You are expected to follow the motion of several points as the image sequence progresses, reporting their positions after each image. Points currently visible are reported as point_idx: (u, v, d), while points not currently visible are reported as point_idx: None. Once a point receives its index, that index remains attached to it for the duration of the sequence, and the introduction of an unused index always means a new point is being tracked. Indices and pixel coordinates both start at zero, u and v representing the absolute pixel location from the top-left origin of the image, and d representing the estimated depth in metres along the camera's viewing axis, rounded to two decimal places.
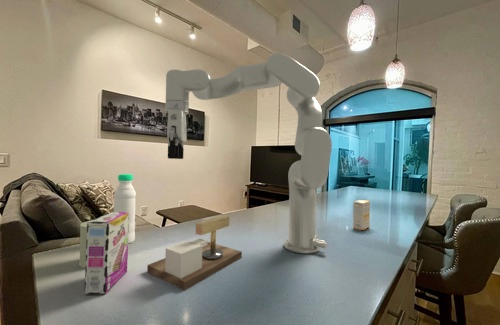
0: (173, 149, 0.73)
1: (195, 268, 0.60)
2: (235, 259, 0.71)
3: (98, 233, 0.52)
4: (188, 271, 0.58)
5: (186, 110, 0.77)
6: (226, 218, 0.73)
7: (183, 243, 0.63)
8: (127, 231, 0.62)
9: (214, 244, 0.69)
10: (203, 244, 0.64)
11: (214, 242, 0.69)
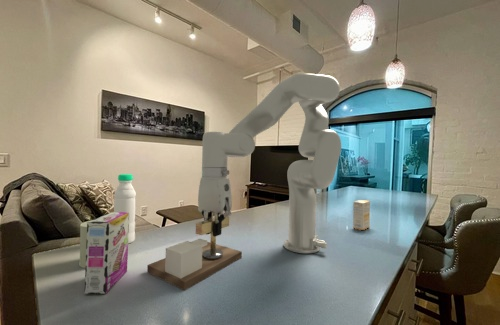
0: (220, 226, 0.68)
1: (195, 268, 0.60)
2: (235, 259, 0.71)
3: (98, 233, 0.52)
4: (188, 271, 0.58)
5: None
6: (226, 218, 0.73)
7: (183, 243, 0.63)
8: (127, 231, 0.62)
9: (214, 244, 0.69)
10: (203, 244, 0.64)
11: (214, 242, 0.69)
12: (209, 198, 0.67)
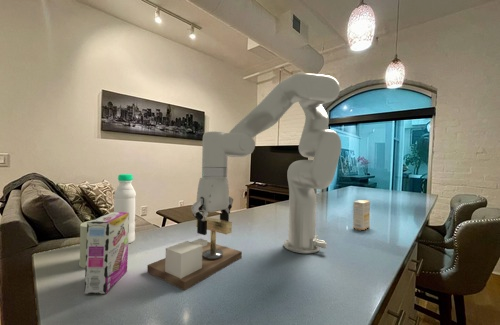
0: None
1: (195, 268, 0.60)
2: (235, 259, 0.71)
3: (98, 233, 0.52)
4: (188, 271, 0.58)
5: None
6: None
7: (183, 243, 0.63)
8: (127, 231, 0.62)
9: None
10: (203, 244, 0.64)
11: None
12: (221, 197, 0.69)
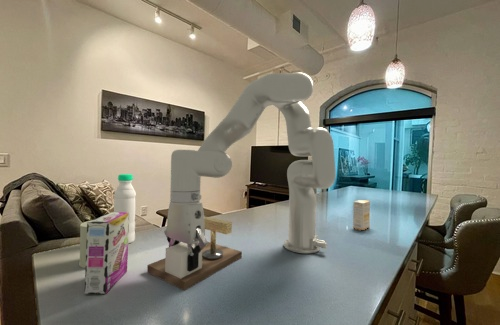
0: (196, 258, 0.58)
1: None
2: (235, 259, 0.71)
3: (98, 233, 0.52)
4: (188, 271, 0.58)
5: None
6: None
7: (183, 243, 0.63)
8: (127, 231, 0.62)
9: None
10: None
11: None
12: (178, 227, 0.58)
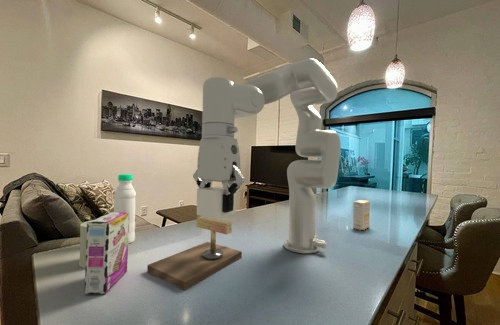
0: (232, 199, 0.52)
1: (230, 211, 0.54)
2: (235, 259, 0.71)
3: (98, 233, 0.52)
4: (223, 213, 0.52)
5: None
6: None
7: (214, 187, 0.57)
8: (127, 231, 0.62)
9: None
10: None
11: None
12: (211, 163, 0.52)
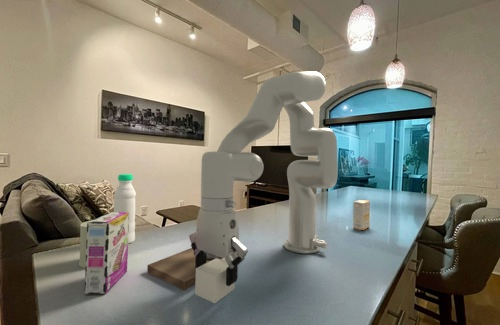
0: (236, 271, 0.51)
1: (228, 290, 0.54)
2: None
3: (98, 233, 0.52)
4: (221, 294, 0.52)
5: None
6: None
7: (213, 261, 0.57)
8: (127, 231, 0.62)
9: None
10: None
11: None
12: (210, 237, 0.52)
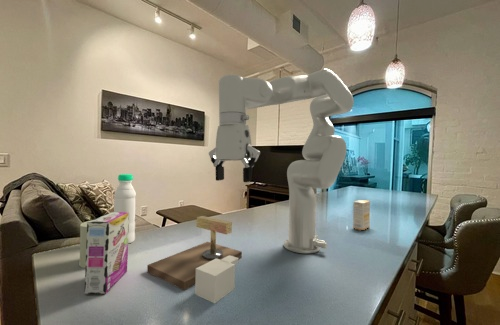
0: (250, 171, 0.63)
1: (228, 290, 0.54)
2: None
3: (98, 233, 0.52)
4: (221, 294, 0.52)
5: None
6: None
7: (213, 261, 0.57)
8: (127, 231, 0.62)
9: None
10: (234, 262, 0.58)
11: None
12: (228, 146, 0.64)
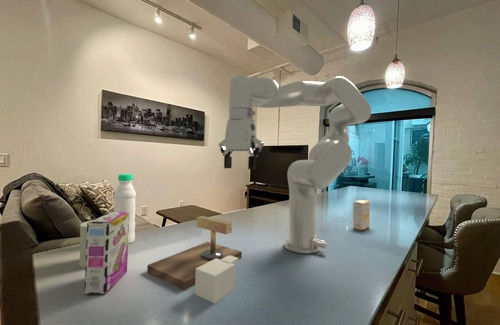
0: (255, 160, 0.72)
1: (228, 290, 0.54)
2: None
3: (98, 233, 0.52)
4: (221, 294, 0.52)
5: None
6: None
7: (213, 261, 0.57)
8: (127, 231, 0.62)
9: None
10: (234, 262, 0.58)
11: None
12: (236, 137, 0.73)
